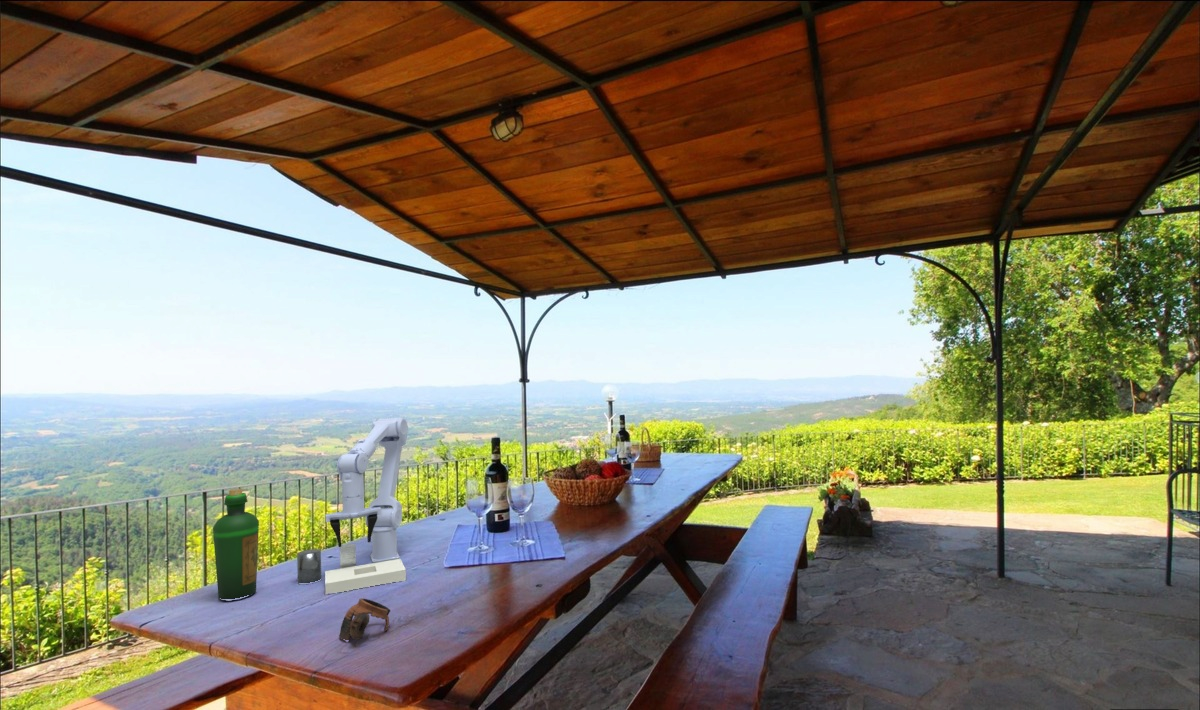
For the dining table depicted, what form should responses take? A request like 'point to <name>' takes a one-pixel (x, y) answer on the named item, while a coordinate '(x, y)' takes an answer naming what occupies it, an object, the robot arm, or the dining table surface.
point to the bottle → (236, 548)
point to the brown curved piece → (362, 618)
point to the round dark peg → (309, 565)
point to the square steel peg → (347, 556)
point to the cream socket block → (364, 576)
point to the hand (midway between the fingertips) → (354, 543)
